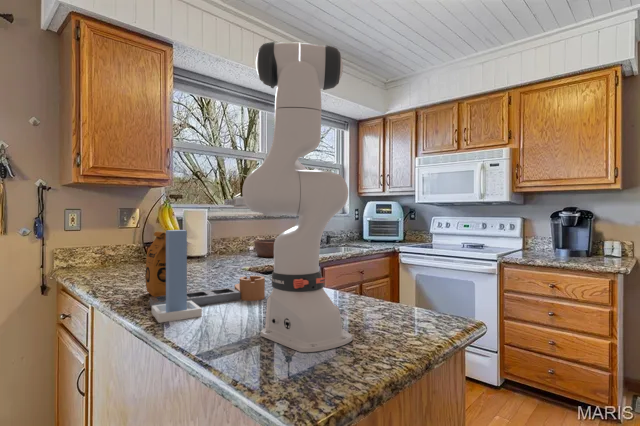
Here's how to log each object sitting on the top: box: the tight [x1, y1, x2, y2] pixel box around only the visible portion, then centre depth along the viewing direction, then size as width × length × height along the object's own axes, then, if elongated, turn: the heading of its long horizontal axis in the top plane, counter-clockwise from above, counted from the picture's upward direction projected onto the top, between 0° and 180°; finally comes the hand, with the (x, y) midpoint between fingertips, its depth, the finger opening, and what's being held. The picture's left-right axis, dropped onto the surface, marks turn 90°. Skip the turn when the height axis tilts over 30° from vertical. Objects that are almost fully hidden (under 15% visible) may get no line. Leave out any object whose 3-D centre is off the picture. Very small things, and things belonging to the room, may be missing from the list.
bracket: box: [234, 275, 266, 302], centre depth 126 cm, size 18×8×7 cm, turn 23°
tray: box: [151, 301, 203, 324], centre depth 102 cm, size 11×11×2 cm
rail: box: [149, 287, 242, 309], centre depth 116 cm, size 9×26×2 cm, turn 124°
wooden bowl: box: [254, 238, 276, 258], centre depth 242 cm, size 25×25×10 cm
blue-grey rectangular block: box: [165, 229, 188, 313], centre depth 102 cm, size 5×5×23 cm
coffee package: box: [144, 230, 166, 297], centre depth 127 cm, size 10×12×22 cm
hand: (229, 201), depth 113 cm, fingers open, 8 cm apart
